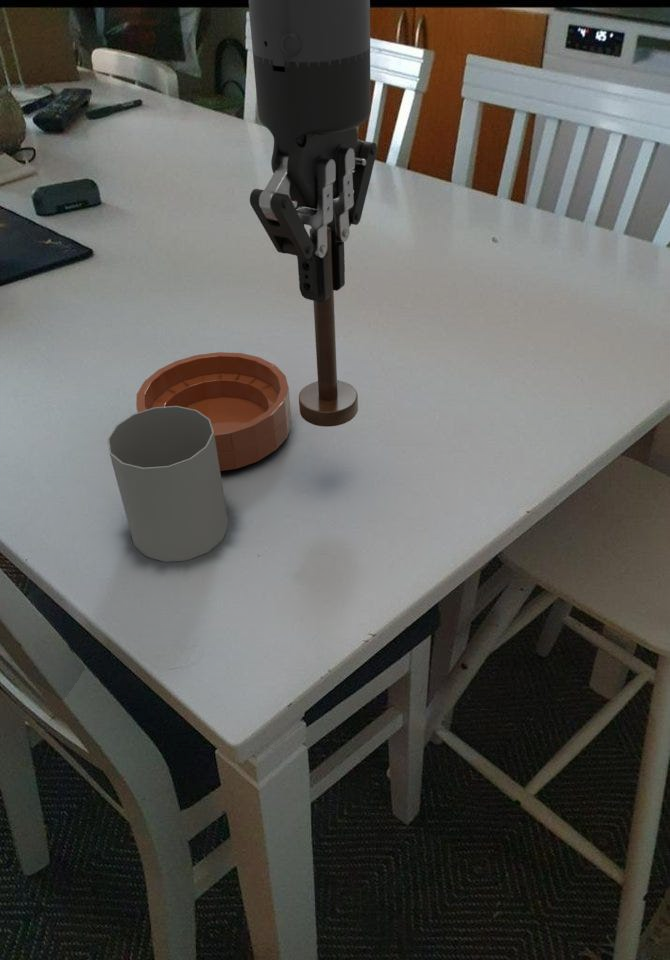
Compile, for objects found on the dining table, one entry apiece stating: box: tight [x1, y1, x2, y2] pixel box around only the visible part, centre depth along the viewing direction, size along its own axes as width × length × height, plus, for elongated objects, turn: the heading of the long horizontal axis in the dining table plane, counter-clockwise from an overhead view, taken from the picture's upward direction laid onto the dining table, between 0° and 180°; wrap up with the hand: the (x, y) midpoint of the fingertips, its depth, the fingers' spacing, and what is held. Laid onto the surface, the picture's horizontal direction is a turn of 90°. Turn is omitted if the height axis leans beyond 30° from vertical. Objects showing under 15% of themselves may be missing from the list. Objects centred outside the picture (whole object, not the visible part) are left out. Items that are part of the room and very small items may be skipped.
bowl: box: [135, 351, 292, 472], centre depth 80 cm, size 15×15×5 cm
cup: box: [107, 406, 230, 563], centre depth 68 cm, size 8×8×10 cm
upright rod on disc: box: [298, 227, 359, 428], centre depth 64 cm, size 5×5×16 cm
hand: (322, 292), depth 62 cm, fingers closed on upright rod on disc
